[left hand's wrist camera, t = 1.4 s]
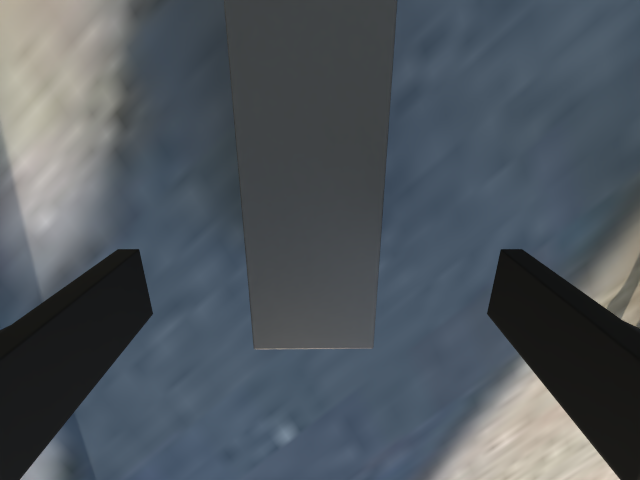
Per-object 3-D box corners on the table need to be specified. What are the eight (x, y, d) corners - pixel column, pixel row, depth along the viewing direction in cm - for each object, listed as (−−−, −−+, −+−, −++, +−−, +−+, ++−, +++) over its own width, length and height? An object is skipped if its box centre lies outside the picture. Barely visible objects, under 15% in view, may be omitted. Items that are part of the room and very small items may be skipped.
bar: (354, 269, 22) (373, 348, 15) (274, 269, 22) (253, 350, 15) (371, -174, 15) (430, -469, 7) (250, -176, 15) (182, -473, 7)
